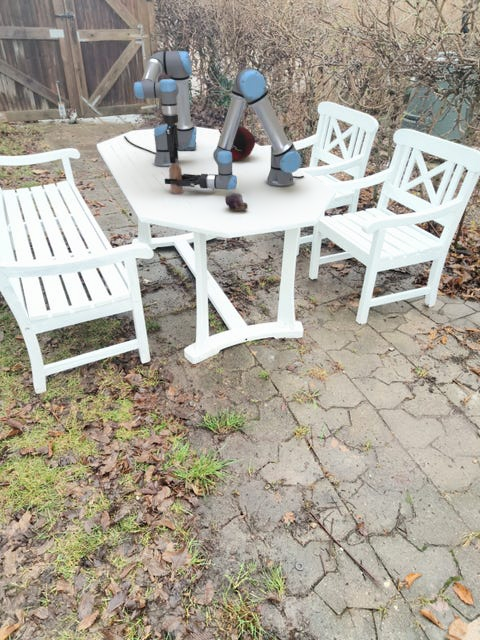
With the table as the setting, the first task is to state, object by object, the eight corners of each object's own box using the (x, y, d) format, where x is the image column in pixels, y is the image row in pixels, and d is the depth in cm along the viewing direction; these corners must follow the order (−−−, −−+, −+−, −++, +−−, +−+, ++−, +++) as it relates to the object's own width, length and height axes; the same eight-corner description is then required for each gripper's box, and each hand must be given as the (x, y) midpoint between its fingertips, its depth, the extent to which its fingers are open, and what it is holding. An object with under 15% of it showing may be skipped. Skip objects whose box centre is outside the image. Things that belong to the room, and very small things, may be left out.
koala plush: (196, 150, 320) (194, 121, 309) (171, 151, 319) (168, 122, 308) (196, 145, 335) (194, 116, 324) (172, 145, 334) (169, 117, 322)
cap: (173, 160, 241) (173, 156, 240) (179, 161, 240) (179, 157, 239) (169, 162, 238) (168, 158, 237) (175, 162, 237) (175, 159, 236)
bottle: (175, 189, 252) (172, 156, 242) (185, 190, 250) (182, 157, 240) (168, 192, 247) (165, 159, 237) (179, 194, 245) (176, 161, 235)
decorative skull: (216, 132, 306) (216, 129, 283) (250, 124, 306) (252, 120, 282) (223, 164, 313) (223, 164, 290) (256, 156, 312) (259, 156, 289)
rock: (239, 207, 231) (221, 210, 227) (238, 190, 228) (220, 192, 223) (250, 210, 222) (232, 213, 218) (249, 193, 218) (231, 195, 214)
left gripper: (167, 110, 234) (172, 156, 247) (157, 117, 219) (162, 166, 232) (181, 111, 233) (185, 157, 246) (172, 117, 218) (176, 166, 231)
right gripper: (203, 194, 236) (162, 191, 240) (212, 182, 252) (173, 180, 256) (202, 180, 232) (160, 177, 235) (212, 169, 248) (172, 167, 251)
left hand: (174, 161), depth 239 cm, fingers open, 5 cm apart
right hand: (167, 179), depth 245 cm, fingers closed on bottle, 7 cm apart
